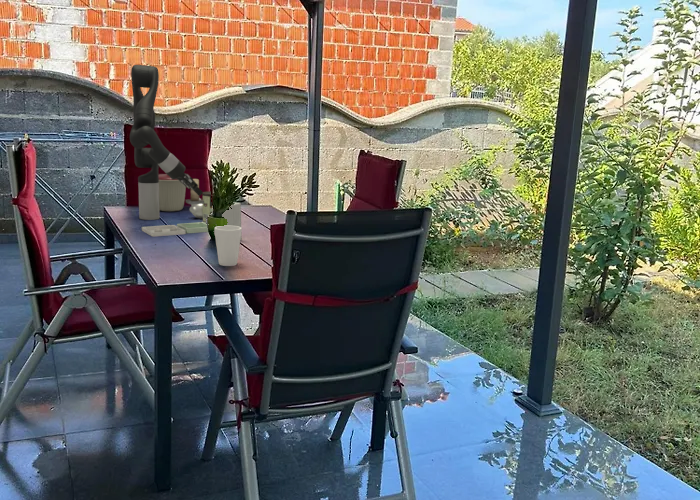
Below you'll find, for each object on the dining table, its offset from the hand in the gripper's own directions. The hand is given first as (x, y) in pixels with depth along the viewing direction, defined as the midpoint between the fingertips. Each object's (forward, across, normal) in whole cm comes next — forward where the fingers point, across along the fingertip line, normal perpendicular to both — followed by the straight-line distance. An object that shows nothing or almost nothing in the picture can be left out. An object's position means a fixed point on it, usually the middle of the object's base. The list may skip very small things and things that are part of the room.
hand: (199, 193), depth 283 cm
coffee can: (+22, +19, +2) cm, 29 cm away
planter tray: (+11, 0, +13) cm, 17 cm away
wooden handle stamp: (+1, 0, +4) cm, 5 cm away
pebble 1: (-4, -4, +24) cm, 24 cm away
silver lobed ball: (+21, +31, +3) cm, 38 cm away
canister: (+17, +59, +6) cm, 62 cm away
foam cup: (+3, -58, +21) cm, 62 cm away
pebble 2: (+1, -4, +19) cm, 20 cm away
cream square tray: (+1, 0, +23) cm, 23 cm away
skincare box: (+15, -21, +9) cm, 27 cm away
